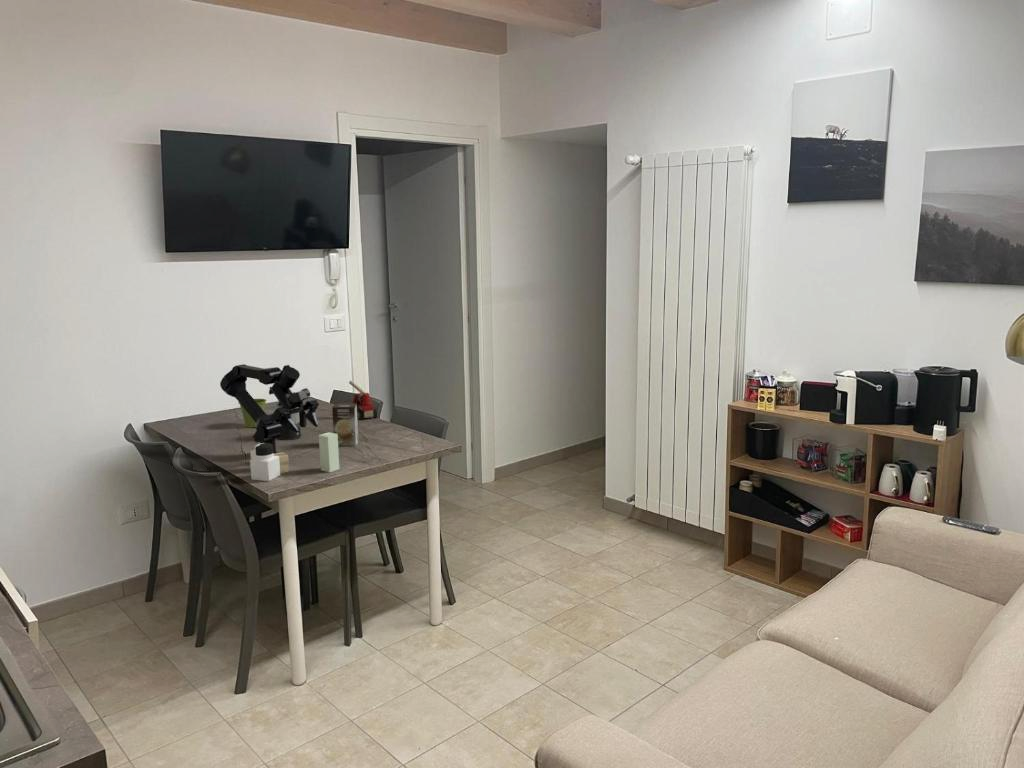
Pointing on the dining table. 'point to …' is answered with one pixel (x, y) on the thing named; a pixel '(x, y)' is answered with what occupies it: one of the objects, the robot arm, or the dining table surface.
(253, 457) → the plastic canister
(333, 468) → the sage block
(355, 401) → the toy fire truck
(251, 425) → the plant pot
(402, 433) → the dining table surface
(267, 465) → the medicine bottle
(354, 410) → the coffee box
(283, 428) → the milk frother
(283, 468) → the birch block
